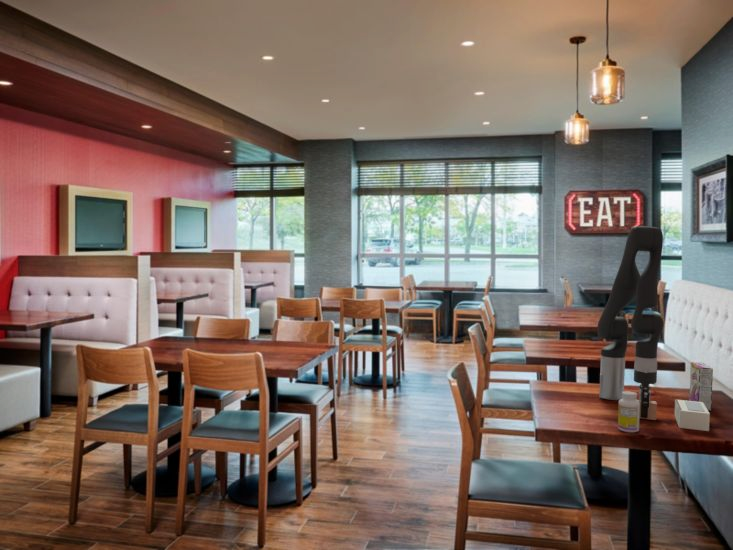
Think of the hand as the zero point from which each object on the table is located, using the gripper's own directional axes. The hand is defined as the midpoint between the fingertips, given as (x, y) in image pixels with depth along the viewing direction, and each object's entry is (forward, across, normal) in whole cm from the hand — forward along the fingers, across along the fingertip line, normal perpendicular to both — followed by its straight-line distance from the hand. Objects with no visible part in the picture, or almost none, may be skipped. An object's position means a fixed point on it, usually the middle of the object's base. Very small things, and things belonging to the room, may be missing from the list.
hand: (643, 415), depth 221 cm
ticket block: (+1, 0, +15) cm, 15 cm away
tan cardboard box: (+1, 0, 0) cm, 1 cm away
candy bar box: (+1, -26, +21) cm, 34 cm away
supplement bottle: (+1, +18, -6) cm, 19 cm away
